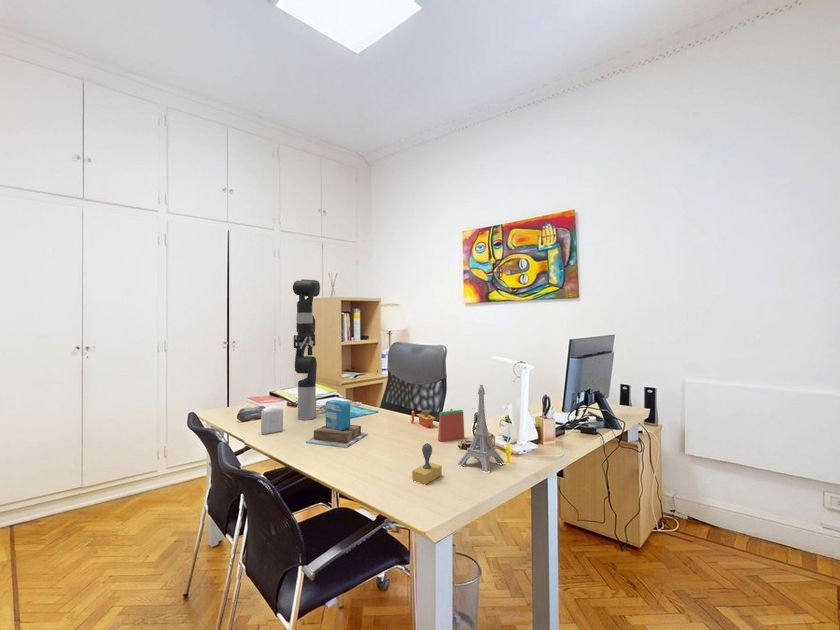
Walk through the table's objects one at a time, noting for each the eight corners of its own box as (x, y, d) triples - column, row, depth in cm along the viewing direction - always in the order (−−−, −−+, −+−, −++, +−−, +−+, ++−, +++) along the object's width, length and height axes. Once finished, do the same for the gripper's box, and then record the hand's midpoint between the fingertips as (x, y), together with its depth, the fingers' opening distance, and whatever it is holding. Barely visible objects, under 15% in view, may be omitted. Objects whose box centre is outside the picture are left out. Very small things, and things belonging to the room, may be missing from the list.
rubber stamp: (428, 472, 148) (428, 438, 148) (442, 475, 145) (442, 441, 145) (411, 481, 140) (411, 445, 140) (425, 485, 137) (425, 449, 137)
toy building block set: (440, 442, 183) (440, 410, 182) (408, 423, 214) (408, 395, 214) (464, 438, 188) (464, 407, 188) (429, 420, 219) (429, 393, 219)
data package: (325, 426, 189) (325, 400, 189) (333, 424, 193) (333, 398, 193) (342, 431, 182) (342, 404, 182) (350, 429, 185) (350, 402, 185)
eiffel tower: (506, 463, 157) (506, 384, 156) (487, 474, 146) (487, 389, 146) (475, 456, 165) (475, 380, 165) (456, 465, 155) (456, 385, 155)
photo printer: (280, 429, 203) (280, 403, 203) (284, 430, 200) (284, 405, 200) (259, 433, 196) (259, 407, 196) (263, 435, 193) (263, 408, 193)
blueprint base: (330, 430, 200) (330, 420, 200) (367, 434, 193) (367, 424, 193) (305, 443, 181) (305, 432, 181) (346, 448, 175) (346, 436, 175)
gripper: (306, 321, 207) (306, 354, 207) (288, 322, 193) (288, 357, 193) (319, 322, 204) (319, 355, 204) (302, 322, 191) (302, 358, 191)
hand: (304, 356), depth 199 cm, fingers open, 8 cm apart
